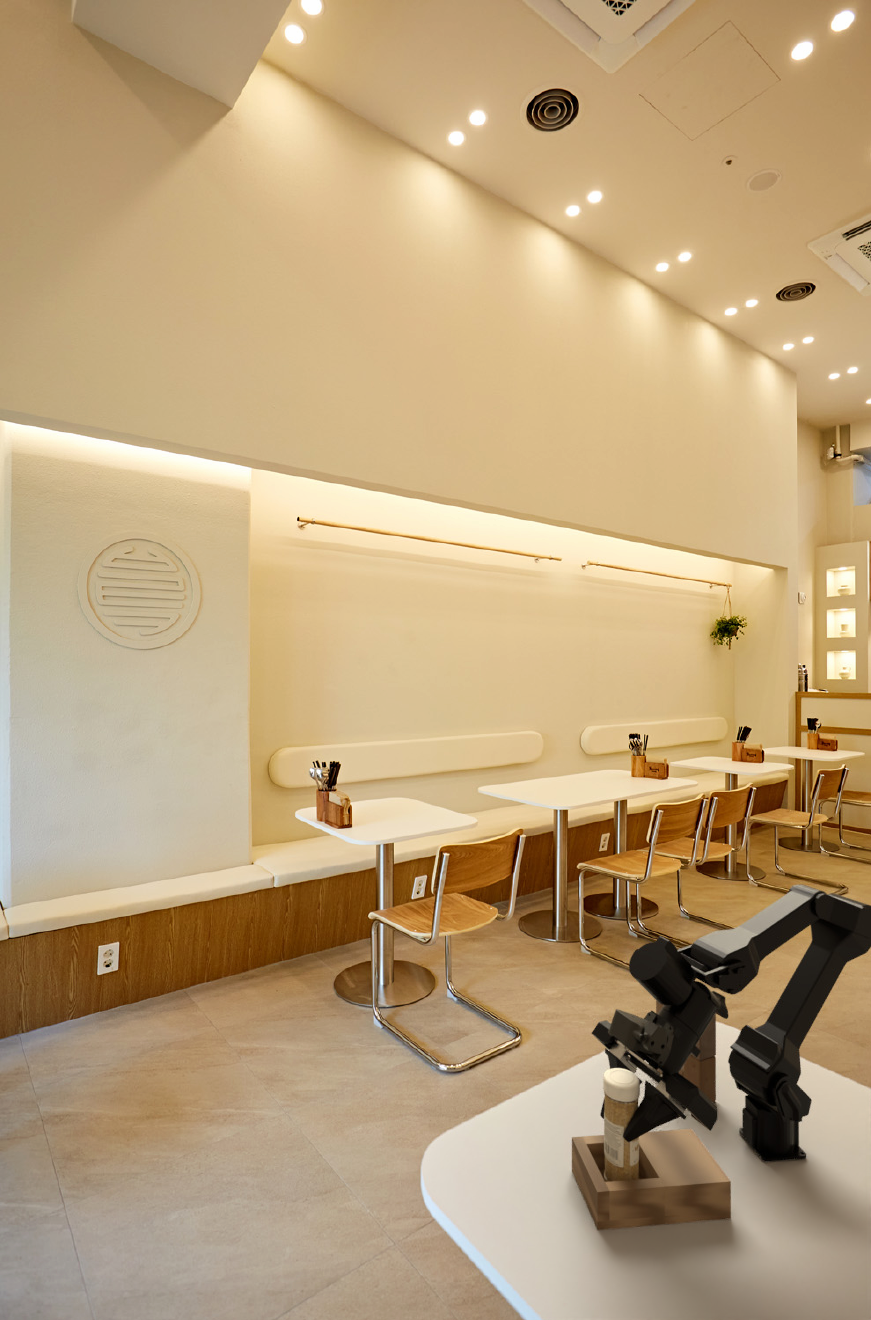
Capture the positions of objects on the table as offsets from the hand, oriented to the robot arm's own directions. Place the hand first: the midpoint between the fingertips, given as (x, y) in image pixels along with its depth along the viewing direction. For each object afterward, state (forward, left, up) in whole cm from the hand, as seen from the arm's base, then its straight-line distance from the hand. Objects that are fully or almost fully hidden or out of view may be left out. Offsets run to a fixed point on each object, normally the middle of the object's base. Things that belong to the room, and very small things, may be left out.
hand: (613, 1128), depth 89 cm
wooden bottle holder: (-5, 0, -9) cm, 10 cm away
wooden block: (-20, -22, -9) cm, 31 cm away
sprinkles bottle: (-1, -1, -7) cm, 7 cm away
